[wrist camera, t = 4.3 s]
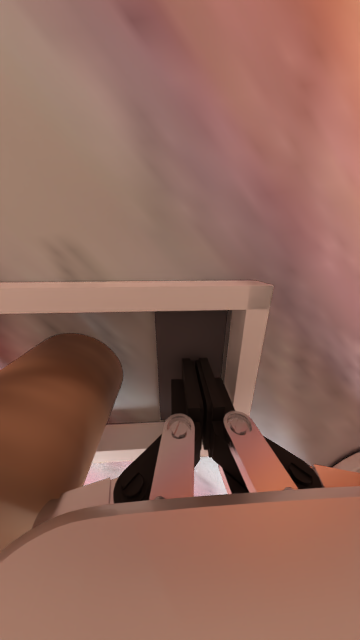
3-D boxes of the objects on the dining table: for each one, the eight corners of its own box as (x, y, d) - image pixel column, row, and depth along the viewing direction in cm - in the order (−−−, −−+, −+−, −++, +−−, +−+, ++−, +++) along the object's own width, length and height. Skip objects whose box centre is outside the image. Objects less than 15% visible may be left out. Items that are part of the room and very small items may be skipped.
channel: (255, 280, 10) (273, 285, 8) (232, 428, 15) (242, 454, 13) (-109, 283, 9) (-180, 290, 7) (-16, 441, 14) (-46, 471, 12)
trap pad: (225, 309, 11) (227, 311, 10) (215, 413, 14) (216, 417, 14) (155, 310, 11) (154, 312, 10) (161, 416, 14) (160, 419, 13)
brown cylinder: (117, 332, 11) (37, 445, 4) (127, 403, 13) (84, 552, 7) (19, 334, 11) (-222, 459, 4) (45, 407, 13) (-86, 567, 6)
